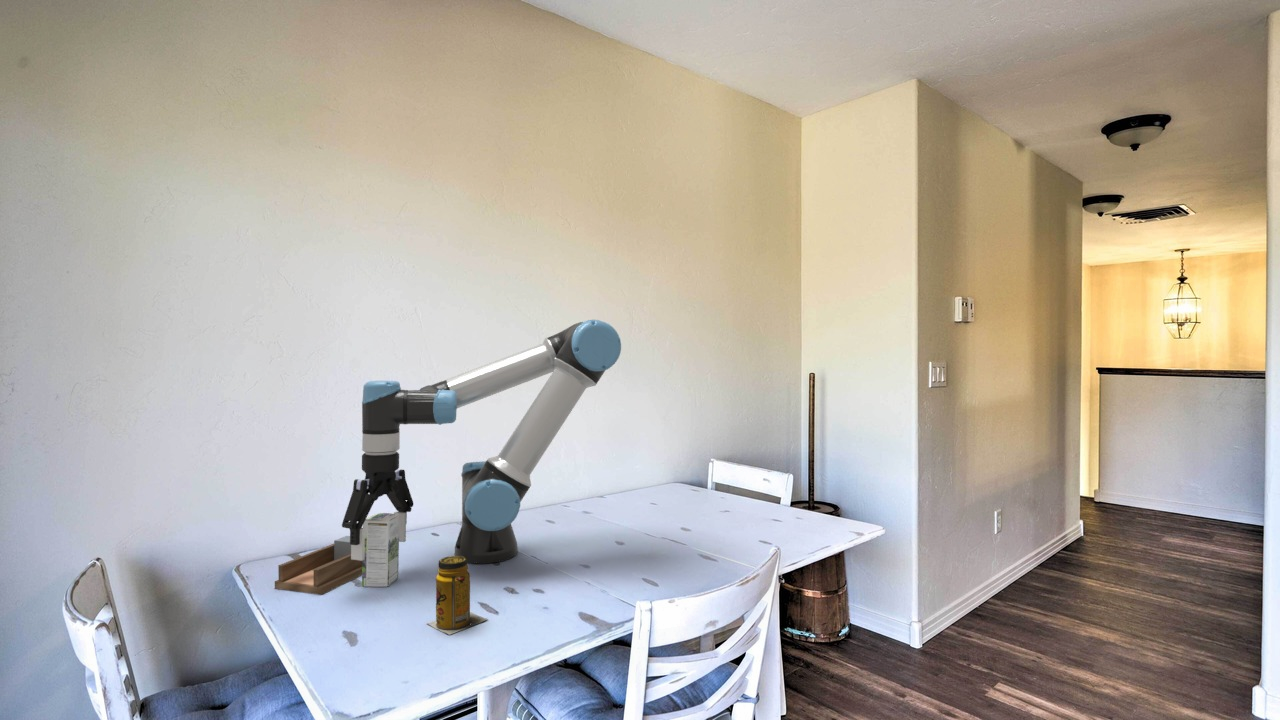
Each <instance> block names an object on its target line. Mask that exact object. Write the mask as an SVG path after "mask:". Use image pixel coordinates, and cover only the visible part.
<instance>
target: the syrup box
mask: <svg viewBox="0 0 1280 720" xmlns="http://www.w3.org/2000/svg"><path fill="white" fill-rule="evenodd" d="M362 528H365V560H362V575H361V586H362V587H363V588H364V587H366V588H371V587H372V588H374V587H375V588H387V587H389V586H390V585H392V584H393V583H394V582H395V581H396V580H398V578H399V556H400V555H399V554H400V553H399V551H400V542H399V515H398V514H394V513H392V512H391V513H389V512H379V513H374V514H372V515H370V516H367V518H366V520H365V522H364V524H363V526H362Z"/></svg>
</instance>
